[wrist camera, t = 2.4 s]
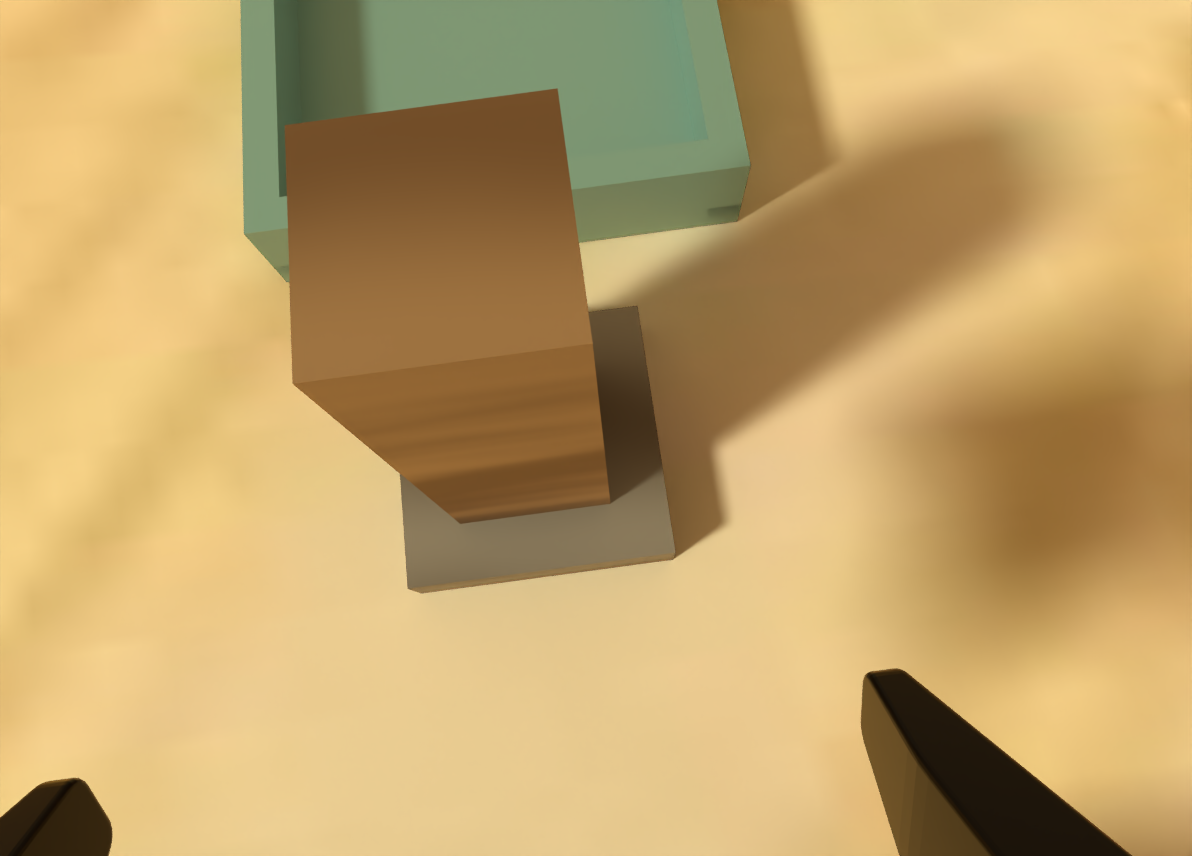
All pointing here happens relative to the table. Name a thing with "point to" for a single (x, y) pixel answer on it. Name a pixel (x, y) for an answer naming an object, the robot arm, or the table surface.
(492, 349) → the handle post
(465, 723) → the table surface
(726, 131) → the tray
